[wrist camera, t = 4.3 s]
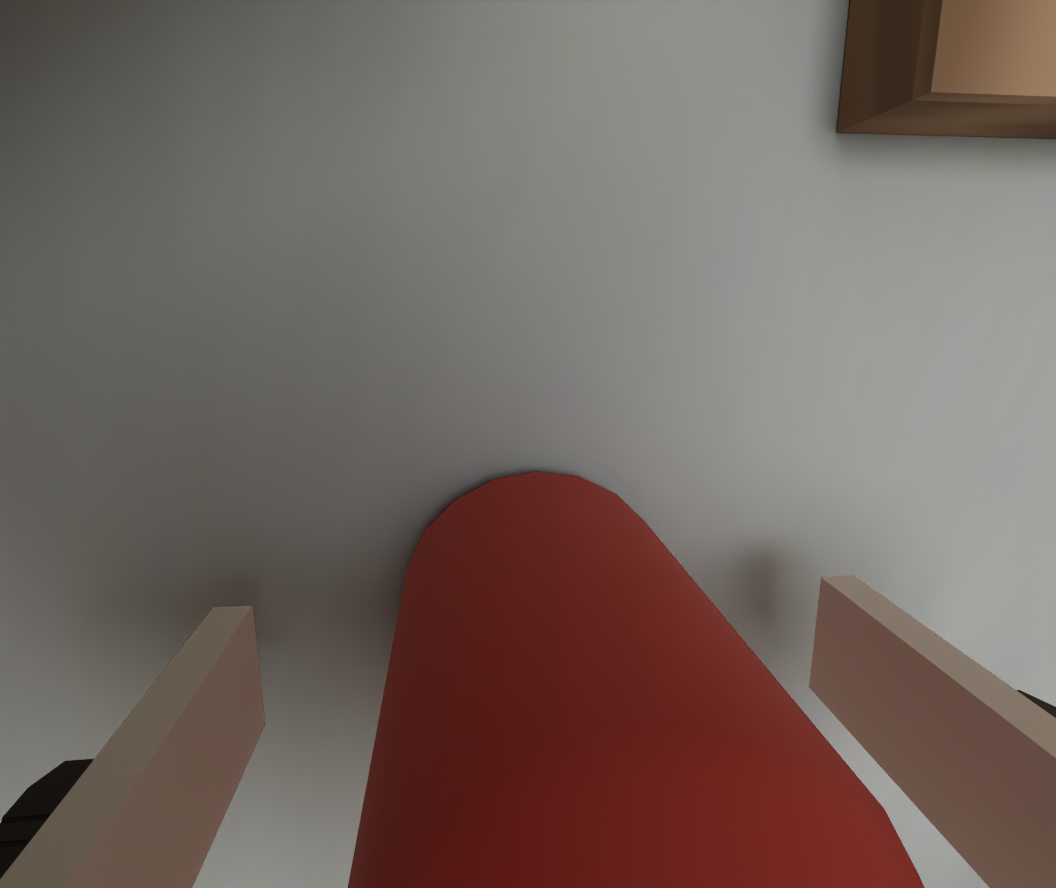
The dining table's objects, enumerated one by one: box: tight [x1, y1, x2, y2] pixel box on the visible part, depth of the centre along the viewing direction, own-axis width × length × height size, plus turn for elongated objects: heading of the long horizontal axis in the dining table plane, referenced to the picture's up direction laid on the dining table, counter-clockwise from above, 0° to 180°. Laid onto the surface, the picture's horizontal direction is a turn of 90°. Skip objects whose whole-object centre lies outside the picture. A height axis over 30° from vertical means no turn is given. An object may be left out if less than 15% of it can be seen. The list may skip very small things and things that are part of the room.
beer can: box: [348, 472, 924, 888], centre depth 11 cm, size 7×7×12 cm
